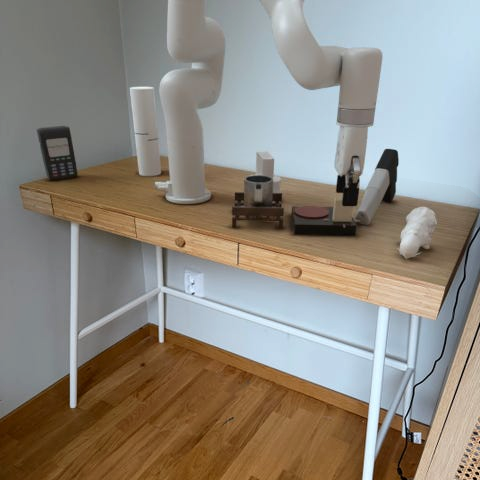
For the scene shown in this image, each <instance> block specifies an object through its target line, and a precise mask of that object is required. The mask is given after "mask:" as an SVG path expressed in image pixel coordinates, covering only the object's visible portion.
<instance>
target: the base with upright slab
mask: <svg viewBox="0 0 480 480" xmlns="http://www.w3.org/2000/svg"><path fill="white" fill-rule="evenodd" d="M255 154H256V155H255V157H256V158H255V174H254V175H264V176H269V177H271V178H273V193H281V187H282V178H281V177H280V176H279V175H276V174H275V171H274V170H275V157H273V155H271V153H269V151H267V150H265V151H264V150H261V151H256V153H255ZM252 175H253V174H251V175H250V176H252ZM272 203H275V201H272ZM279 203H281V201H279Z"/></svg>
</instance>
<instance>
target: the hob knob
mask: <svg viewBox="0 0 480 480" xmlns="http://www.w3.org/2000/svg"><path fill="white" fill-rule="evenodd" d="M342 199H343V197H334V202H333V207H334V209H333V217H332V220H333V221H334V222H352V217H353V214H354V207H355V206H343V205H342Z"/></svg>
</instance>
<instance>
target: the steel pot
mask: <svg viewBox="0 0 480 480" xmlns="http://www.w3.org/2000/svg"><path fill="white" fill-rule="evenodd" d="M251 175H252V176H251ZM251 175H247V176H246V177H244V179H243V192H244V201H243V202H244V206H243V207H273V206H272V197H273V178H271V177H269V176H264V175H255V174H251Z"/></svg>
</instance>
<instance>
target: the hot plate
mask: <svg viewBox="0 0 480 480" xmlns="http://www.w3.org/2000/svg"><path fill="white" fill-rule="evenodd" d="M299 206H300V207H297V208H295V210H294V213H295V214H297V215H298V216H301V217H306V218H322V217H326V216H328V215H329V211H328V210H327V209H326V208H323V207H324V206H319V205H299Z"/></svg>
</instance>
